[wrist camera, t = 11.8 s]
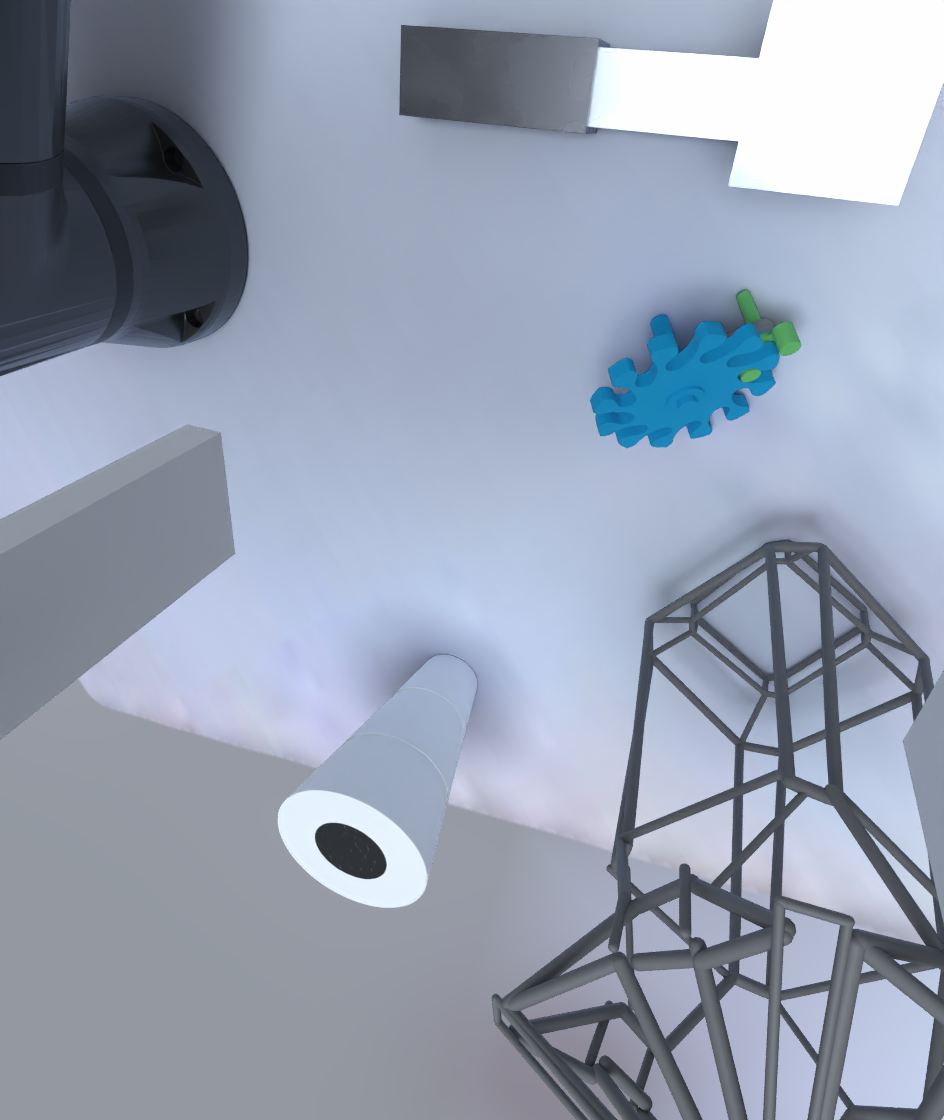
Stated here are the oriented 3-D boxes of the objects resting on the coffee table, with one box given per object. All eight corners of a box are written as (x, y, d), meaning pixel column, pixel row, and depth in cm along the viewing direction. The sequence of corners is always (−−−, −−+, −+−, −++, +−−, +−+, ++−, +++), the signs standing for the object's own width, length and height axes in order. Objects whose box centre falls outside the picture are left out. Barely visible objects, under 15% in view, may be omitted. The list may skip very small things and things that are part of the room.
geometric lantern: (967, 634, 44) (1334, 1556, 15) (753, 738, 53) (738, 1436, 25) (794, 456, 42) (852, 1126, 14) (604, 594, 51) (404, 1168, 23)
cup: (483, 616, 56) (383, 787, 41) (528, 721, 60) (452, 912, 45) (373, 633, 61) (250, 792, 46) (422, 730, 65) (322, 903, 50)
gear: (625, 475, 44) (569, 400, 36) (603, 397, 47) (546, 310, 38) (812, 405, 40) (798, 302, 32) (778, 323, 42) (756, 206, 34)
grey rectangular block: (735, 175, 34) (728, 186, 27) (774, 16, 30) (776, -14, 24) (872, 190, 32) (898, 205, 26) (928, 25, 29) (974, -5, 23)
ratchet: (419, 142, 40) (363, 144, 35) (424, 0, 37) (362, -24, 31) (867, 192, 35) (887, 204, 29) (922, 29, 31) (957, 6, 26)
